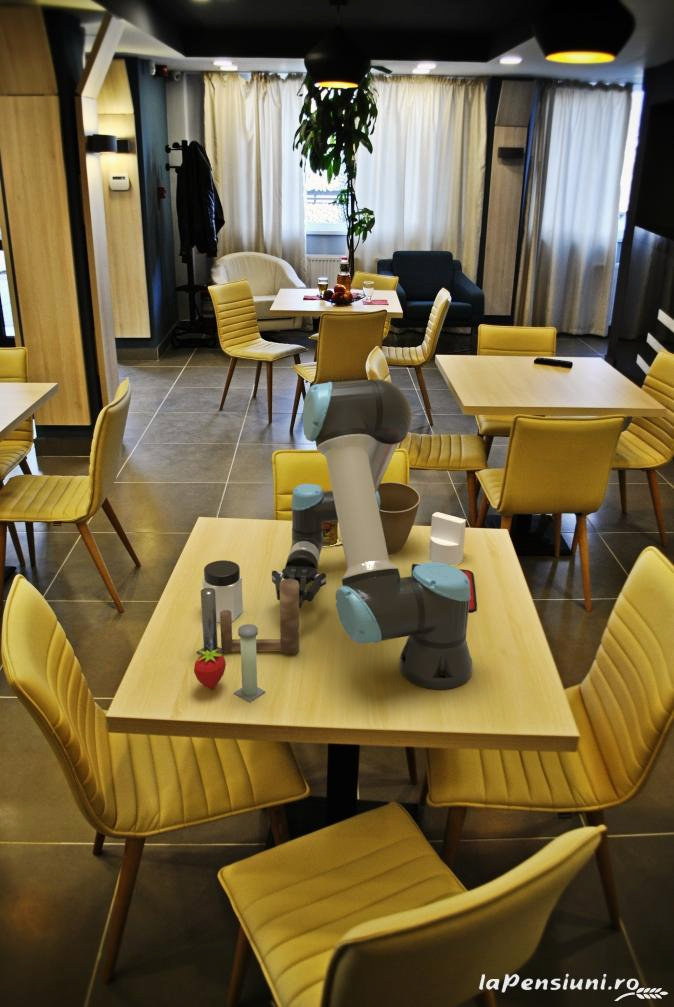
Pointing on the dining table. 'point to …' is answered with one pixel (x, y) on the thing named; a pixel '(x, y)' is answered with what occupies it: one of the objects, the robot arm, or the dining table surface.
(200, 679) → the strawberry
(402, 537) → the plant pot
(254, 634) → the post
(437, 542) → the cylinder with rectangular tab
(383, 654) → the dining table surface
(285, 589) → the brown uneven u-shaped piece
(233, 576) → the jar
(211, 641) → the hinge post
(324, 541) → the condiment
